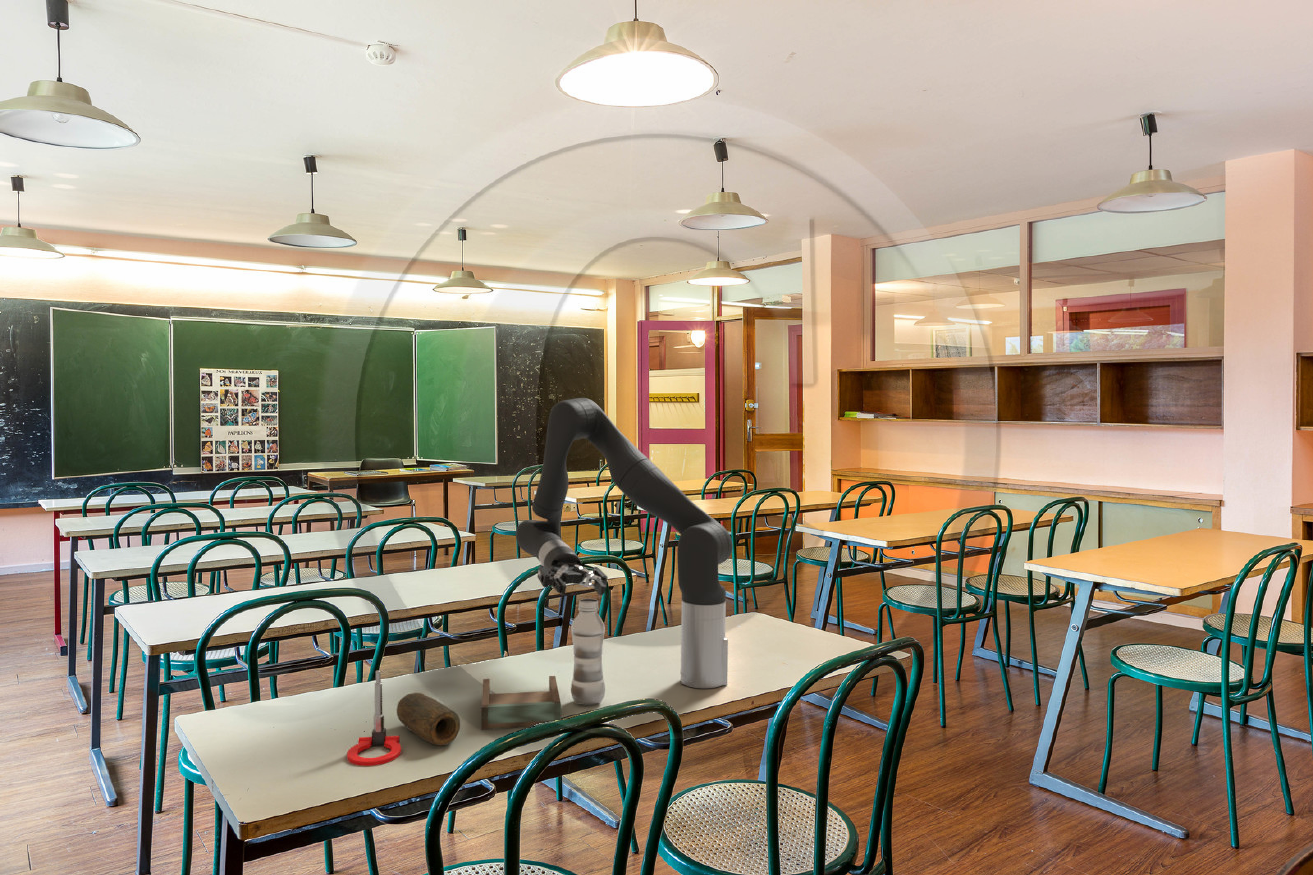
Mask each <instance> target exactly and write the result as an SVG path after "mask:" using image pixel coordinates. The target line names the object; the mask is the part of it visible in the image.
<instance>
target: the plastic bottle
mask: <svg viewBox="0 0 1313 875" xmlns="http://www.w3.org/2000/svg"><path fill="white" fill-rule="evenodd" d="M577 610H578V611H579V612H578V614H577V616H576V617H575V618H574V619H573V621H572V623H571V626H570V630H571V638H572V639H571V640H572V645H573V669H572V670H573V674H572V680H571V684H570V685H571V686H570V694H571V698H572V700H573V701H574V702H575V703H577V704H579V705H586V706H587V705H596V704H599V703H601V702H603V700H604V698H605V694H606V685H605V683H606V682H605V679H604V673H603V672H604V670H603V647H604V646H603V645H604V639H605V631H606V626H605V622H603V619H602V618H601V617H600V615H599V614H598V611H599V600H598V599H596V598H581V599H579V600H578V608H577Z"/></svg>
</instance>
